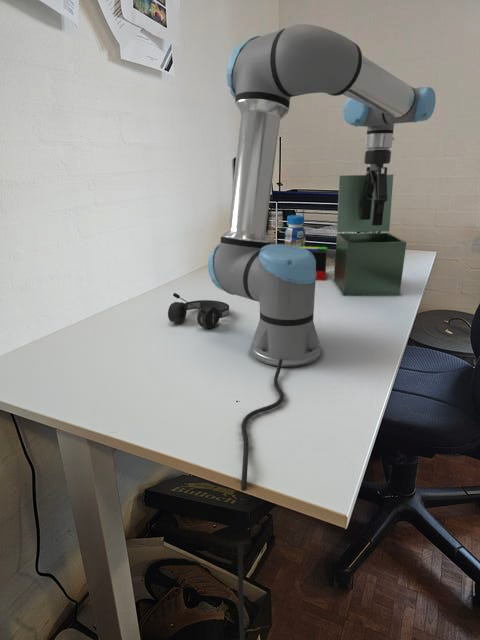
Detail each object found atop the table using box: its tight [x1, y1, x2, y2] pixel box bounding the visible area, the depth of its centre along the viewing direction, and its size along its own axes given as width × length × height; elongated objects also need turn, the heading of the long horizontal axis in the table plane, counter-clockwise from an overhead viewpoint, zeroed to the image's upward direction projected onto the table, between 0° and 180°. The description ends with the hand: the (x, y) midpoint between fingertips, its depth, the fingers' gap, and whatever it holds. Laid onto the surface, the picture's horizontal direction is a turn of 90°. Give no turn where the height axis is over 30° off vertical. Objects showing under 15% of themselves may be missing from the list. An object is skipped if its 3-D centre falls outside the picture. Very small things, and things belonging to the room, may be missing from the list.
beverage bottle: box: [284, 214, 306, 247], centre depth 163 cm, size 8×8×20 cm
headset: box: [167, 292, 230, 329], centre depth 108 cm, size 14×10×20 cm
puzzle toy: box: [301, 246, 328, 281], centre depth 148 cm, size 10×10×10 cm
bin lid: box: [336, 174, 394, 233], centre depth 139 cm, size 18×18×8 cm
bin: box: [333, 232, 407, 296], centre depth 132 cm, size 18×18×17 cm
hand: (371, 222), depth 128 cm, fingers open, 13 cm apart
